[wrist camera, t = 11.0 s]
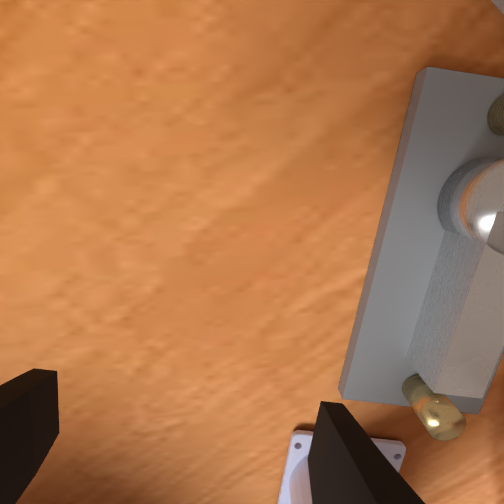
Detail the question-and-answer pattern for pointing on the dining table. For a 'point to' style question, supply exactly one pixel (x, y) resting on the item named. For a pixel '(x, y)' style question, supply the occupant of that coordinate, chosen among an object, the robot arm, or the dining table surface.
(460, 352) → the ball topped lever
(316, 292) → the dining table surface
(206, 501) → the dining table surface
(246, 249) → the dining table surface
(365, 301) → the board
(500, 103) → the peg pair
